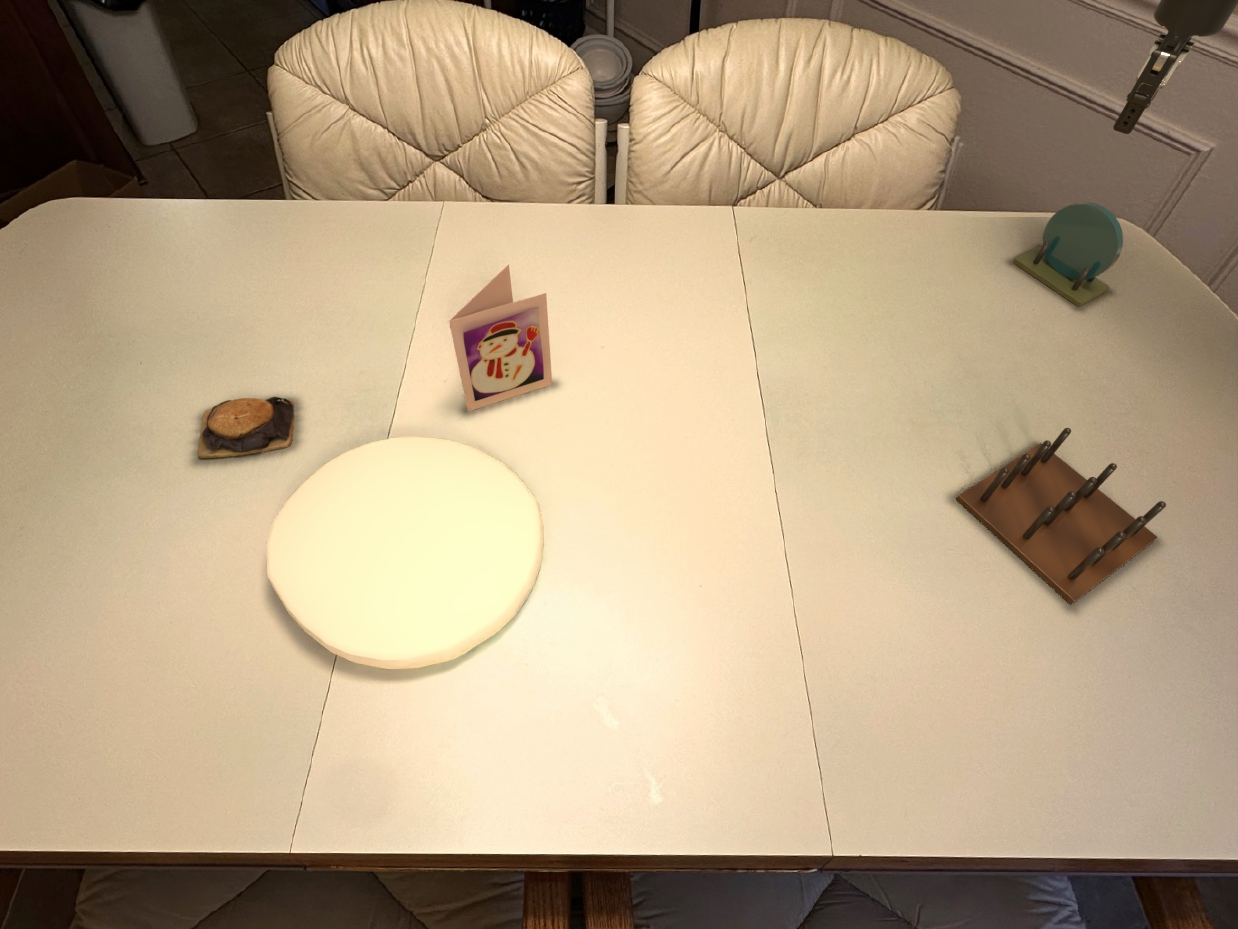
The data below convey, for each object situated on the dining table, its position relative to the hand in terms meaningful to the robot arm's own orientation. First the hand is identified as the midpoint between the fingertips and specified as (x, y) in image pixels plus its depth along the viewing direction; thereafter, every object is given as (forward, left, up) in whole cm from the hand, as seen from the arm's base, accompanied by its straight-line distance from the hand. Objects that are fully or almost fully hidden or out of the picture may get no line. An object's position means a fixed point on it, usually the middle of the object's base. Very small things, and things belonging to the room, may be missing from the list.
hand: (1130, 118), depth 98 cm
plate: (+104, -2, -22) cm, 107 cm away
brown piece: (+114, -29, -22) cm, 120 cm away
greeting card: (+84, -20, -22) cm, 90 cm away
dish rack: (+40, +32, -22) cm, 56 cm away
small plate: (+2, +4, -21) cm, 22 cm away
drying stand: (+2, +4, -22) cm, 23 cm away
